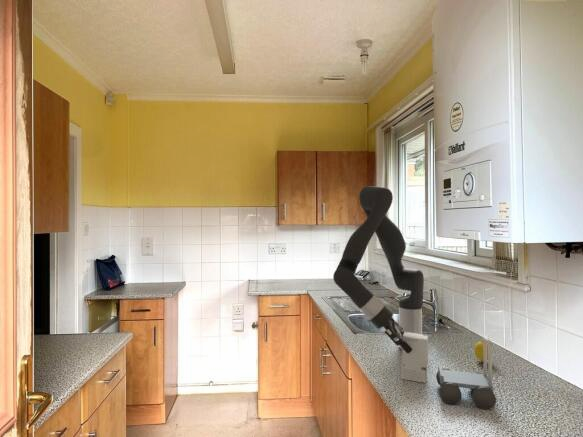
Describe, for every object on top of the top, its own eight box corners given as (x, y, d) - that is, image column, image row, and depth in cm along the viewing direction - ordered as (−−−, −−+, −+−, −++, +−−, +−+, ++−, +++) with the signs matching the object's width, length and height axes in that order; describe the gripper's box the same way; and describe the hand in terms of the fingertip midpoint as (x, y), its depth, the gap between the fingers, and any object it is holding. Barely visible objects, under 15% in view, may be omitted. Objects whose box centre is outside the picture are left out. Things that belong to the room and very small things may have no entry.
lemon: (482, 365, 138) (482, 344, 138) (471, 360, 143) (471, 339, 143) (494, 363, 139) (494, 342, 139) (483, 358, 144) (483, 338, 144)
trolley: (436, 385, 122) (436, 329, 121) (487, 391, 117) (486, 333, 117) (439, 403, 110) (439, 341, 110) (496, 410, 106) (496, 345, 105)
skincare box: (401, 379, 126) (400, 335, 126) (403, 372, 132) (403, 330, 132) (427, 383, 123) (427, 339, 123) (428, 376, 128) (428, 333, 128)
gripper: (382, 309, 123) (419, 347, 120) (384, 300, 137) (417, 334, 134) (366, 324, 125) (402, 362, 122) (370, 313, 138) (402, 347, 135)
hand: (410, 347), depth 128 cm, fingers open, 8 cm apart
